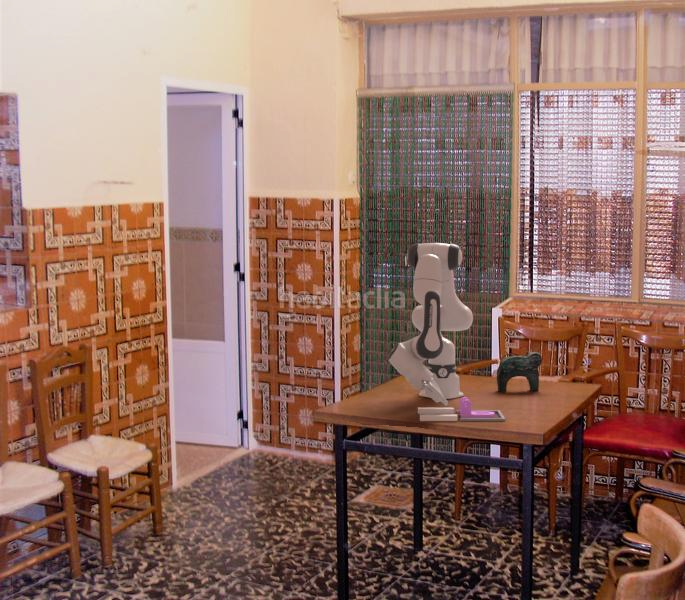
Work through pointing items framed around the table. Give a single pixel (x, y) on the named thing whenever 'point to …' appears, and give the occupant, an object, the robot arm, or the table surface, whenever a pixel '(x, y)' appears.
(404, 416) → the table surface
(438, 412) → the cream grey rectangular frame
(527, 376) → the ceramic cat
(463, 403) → the bracket
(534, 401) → the table surface
